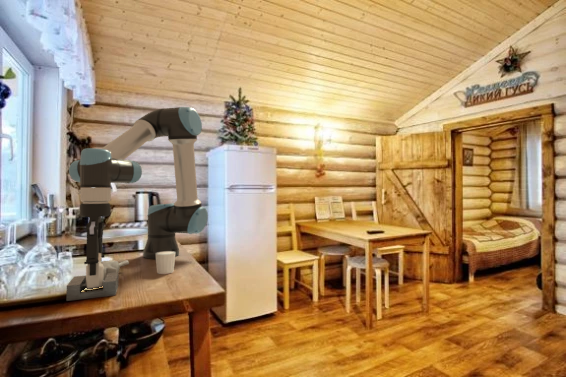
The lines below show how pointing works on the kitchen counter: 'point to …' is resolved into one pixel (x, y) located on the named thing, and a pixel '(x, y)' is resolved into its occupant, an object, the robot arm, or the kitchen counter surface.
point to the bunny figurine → (112, 267)
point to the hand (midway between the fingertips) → (94, 283)
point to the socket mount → (80, 284)
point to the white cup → (165, 262)
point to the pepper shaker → (99, 274)
